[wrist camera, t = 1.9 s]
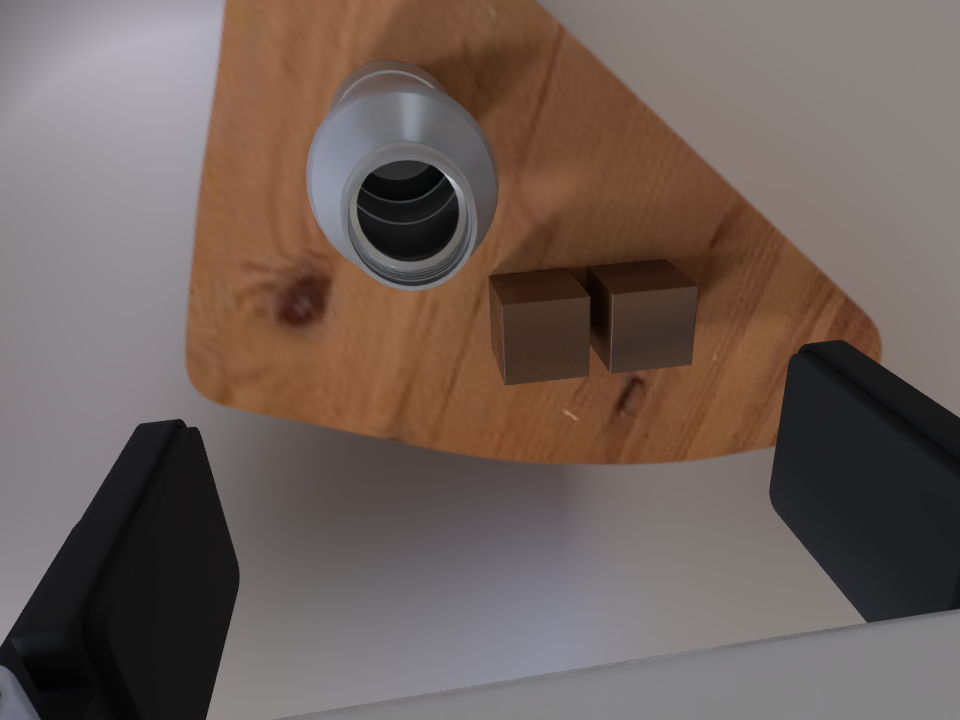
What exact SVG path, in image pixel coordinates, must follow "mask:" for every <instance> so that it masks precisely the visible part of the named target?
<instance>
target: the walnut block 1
mask: <svg viewBox="0 0 960 720" xmlns="http://www.w3.org/2000/svg"><path fill="white" fill-rule="evenodd" d="M489 297H490V318H491V338H492V350H493V353H494V356H495V359H496V362H497V364H498V367H499V370H500V373H501V376H502V378H503V381H504V384H505V385H513V384H522V383H532V382H541V381H550V380H559V379H568V378H577V377H586V376H589V349H590V300H591V297H590V295H589V294H588V293H587V292H586V290H585V289H584V288H583V287H582V285H581V284H580V283H579V281H578V280H577V279H576V278H575V276H574V275H573V274H572V273H571V271H570V270H569V269H557V270H547V271H536V272H526V273H515V274H504V275H494V276H489Z"/></svg>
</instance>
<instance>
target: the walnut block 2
mask: <svg viewBox="0 0 960 720" xmlns="http://www.w3.org/2000/svg"><path fill="white" fill-rule="evenodd" d="M698 289H699V286H698V285H697V284H696V283H695V282H693V281H692V280H691V279H690V278H688V277H687V276H686V275H684V274H683V273H682V272H681V271H679V270H678V269H677V268H676V267H674V266H673V265H672V264H671V263H669V262H668V261H667V260H665V259H664V260H654V261H643V262H633V263H622V264H611V265H601V266H590V267H589V268H588V294H589V295H590V297H591V300H590V344H591V346H592V347H593V349H594V350H595V352H596V353H597V355H598V356H599V358H600V359H601V361H602V362H603V364H604V365H605V367H606V368H607V370H608V371H609V373H611V374H612V373H621V372H630V371H639V370H648V369H657V368H666V367H675V366H684V365H691V363H692V352H693V342H694V331H695V320H696V310H697V299H698Z"/></svg>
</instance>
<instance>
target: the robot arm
mask: <svg viewBox="0 0 960 720" xmlns="http://www.w3.org/2000/svg"><path fill="white" fill-rule="evenodd" d="M769 492H770V499H771V503H772V505H773V508H774V509H775V511H776V512H777V514H778V515H779V516H780V517H781V519H782V520H783V521H784V522H785V523H786V524H787V526H788V527H789V528H790V529H791V531H792V532H793V533H794V534H795V536H796V537H797V538H798V539H799V540H800V542H801V543H802V544H803V545H804V546H805V548H806V549H807V550H808V551H809V552H810V554H811V555H812V556H813V557H814V559H815V560H816V561H817V562H818V563H819V565H820V566H821V567H822V568H823V569H824V571H825V572H826V573H827V574H828V575H829V576H830V578H831V579H832V580H833V582H834V583H835V584H836V585H837V587H838V588H839V589H840V590H841V591H842V592H843V594H844V595H845V596H846V597H847V599H848V600H849V601H850V602H851V603H852V605H853V606H854V607H855V608H856V609H857V611H858V612H859V613H860V614H861V616H862V617H863V618H864V619H865V620H866V622H867V623H865V624H858V625H852V626H846V627H839V628H832V629H826V630H820V631H813V632H807V633H800V634H794V635H788V636H781V637H774V638H768V639H761V640H755V641H749V642H743V643H736V644H731V645H724V646H717V647H711V648H705V649H698V650H692V651H686V652H680V653H674V654H667V655H661V656H655V657H648V658H643V659H636V660H630V661H624V662H617V663H611V664H606V665H599V666H593V667H586V668H580V669H574V670H568V671H562V672H555V673H549V674H543V675H537V676H531V677H525V678H519V679H513V680H507V681H501V682H495V683H489V684H483V685H477V686H471V687H465V688H459V689H453V690H447V691H441V692H435V693H429V694H423V695H417V696H411V697H405V698H399V699H393V700H387V701H381V702H375V703H369V704H363V705H357V706H350V707H345V708H339V709H333V710H327V711H321V712H315V713H309V714H303V715H297V716H291V717H286V718H280V719H274V720H960V418H959V417H958V416H956V415H954V414H953V413H951V412H950V411H948V410H947V409H946V408H944V407H942V406H941V405H940V404H938V403H936V402H935V401H933V400H932V399H931V398H929V397H928V396H926V395H925V394H923V393H921V392H920V391H918V390H917V389H915V388H914V387H913V386H911V385H910V384H908V383H906V382H905V381H904V380H902V379H901V378H899V377H898V376H896V375H895V374H893V373H892V372H890V371H889V370H887V369H886V368H884V367H883V366H881V365H880V364H878V363H877V362H875V361H874V360H872V359H871V358H869V357H868V356H866V355H865V354H863V353H862V352H860V351H859V350H857V349H856V348H854V347H853V346H851V345H850V344H848V343H847V342H845V341H842V340H835V341H826V342H818V343H810V344H805V345H803V346H802V347H801V348H800V350H799V351H798V354H794V355H793V356H792V357H791V359H790V361H789V364H788V371H787V377H786V384H785V390H784V397H783V403H782V410H781V416H780V423H779V430H778V436H777V443H776V450H775V456H774V462H773V469H772V476H771V482H770V491H769ZM239 579H240V578H239V566H238V561H237V558H236V555H235V551H234V547H233V544H232V541H231V537H230V534H229V530H228V527H227V523H226V520H225V517H224V513H223V509H222V506H221V502H220V500H219V496H218V492H217V489H216V485H215V482H214V478H213V475H212V471H211V468H210V465H209V461H208V457H207V454H206V451H205V447H204V444H203V440H202V437H201V434H200V431H199V430H198V428H196V427H188V428H187V426H186V424H185V423H184V421H182V420H181V419H175V420H167V421H159V422H150V423H143V424H139V425H138V426H137V427H136V429H135V431H134V432H133V434H132V436H131V437H130V439H129V441H128V442H127V444H126V446H125V447H124V449H123V451H122V452H121V454H120V456H119V457H118V459H117V461H116V462H115V464H114V465H113V467H112V469H111V471H110V472H109V474H108V475H107V477H106V479H105V480H104V482H103V484H102V485H101V487H100V488H99V490H98V492H97V493H96V495H95V497H94V498H93V500H92V502H91V503H90V505H89V507H88V508H87V510H86V512H85V513H84V515H83V517H82V518H81V520H80V521H79V522H78V523H77V524H76V525H75V527H74V528H73V529H72V531H71V532H70V534H69V536H68V537H67V539H66V541H65V542H64V544H63V546H62V547H61V549H60V550H59V552H58V554H57V555H56V557H55V559H54V560H53V562H52V563H51V565H50V567H49V568H48V570H47V572H46V573H45V575H44V577H43V578H42V580H41V582H40V583H39V585H38V586H37V588H36V590H35V591H34V593H33V595H32V596H31V598H30V599H29V601H28V603H27V605H26V606H25V608H24V609H23V611H22V613H21V614H20V616H19V617H18V619H17V621H16V622H15V624H14V626H13V627H12V629H11V631H10V632H9V634H8V635H7V637H6V639H5V640H4V642H3V644H2V645H1V647H0V720H206V717H207V713H208V709H209V705H210V701H211V697H212V693H213V689H214V685H215V681H216V676H217V673H218V669H219V665H220V661H221V657H222V653H223V648H224V644H225V641H226V637H227V633H228V629H229V625H230V621H231V617H232V613H233V609H234V605H235V601H236V597H237V592H238V587H239Z"/></svg>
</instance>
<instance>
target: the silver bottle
mask: <svg viewBox="0 0 960 720" xmlns="http://www.w3.org/2000/svg"><path fill="white" fill-rule="evenodd" d="M306 177H307V191H308V196H309V200H310V204H311V209H312V211H313V213H314V216H315V218H316V220H317V222H318V225H319V227H320V228H321V230H322V231H323V233H324V234H325V236H326V237H327V239H328V240H329V242H330V243H331V244H332V245H333V246H334V247H335V248H336V249H337V250H338V251H339V252H340V253H341V254H342V255H343V256H344V257H345V258H347V259H348V260H349V261H351V262H352V263H354V264H355V265H356V266H358V267H359V268H361V269H362V270H364V271H365V272H366V273H367V274H368V275H370V276H371V277H372V278H374V279H375V280H377V281H378V282H380V283H382V284H385V285H387V286H389V287H392V288H396V289H400V290H411V291H417V290H424V289H429V288H432V287H435V286H438V285H440V284H442V283H444V282H446V281H447V280H449V279H451V278H452V277H453V276H454V275H455V274H456V273H457V272H459V271H460V269H461V268H462V267H463V266H464V264H465V263H466V262H467V260H468V258H469V257H470V256H471V255H472V254H473V253H474V251H475V250H476V249H477V247H478V246H479V245H480V243H481V242H482V241H483V239H484V238H485V236H486V234H487V232H488V230H489V228H490V226H491V224H492V222H493V218H494V215H495V211H496V207H497V204H498V191H499V180H498V170H497V164H496V161H495V157H494V154H493V150H492V147H491V145H490V143H489V141H488V139H487V137H486V135H485V133H484V131H483V129H482V128H481V127H480V125H479V124H478V123H477V122H476V120H475V119H474V118H473V116H472V115H471V114H470V113H469V112H468V111H467V110H466V109H465V108H464V107H462V106H461V105H460V104H459V103H458V102H457V101H455V100H454V99H453V98H451V97H450V96H449V94H448V93H447V92H446V90H445V89H444V88H443V86H442V85H441V84H440V83H439V82H438V81H437V80H436V79H435V78H434V77H433V76H431V75H430V74H429V73H428V72H426V71H424V70H423V69H421V68H419V67H417V66H415V65H412V64H409V63H406V62H403V61H395V60H383V61H375V62H372V63H369V64H367V65H364V66H362V67H360V68H359V69H357V70H355V71H354V72H352V73H351V74H350V75H349V76H348V77H347V78H346V79H345V80H344V81H343V82H342V83H341V84H340V86H339V88H338V89H337V91H336V92H335V94H334V96H333V99H332V101H331V104H330V107H329V112H328V114H327V115H326V117H325V118H324V120H323V122H322V123H321V125H320V126H319V128H318V129H317V131H316V133H315V136H314V139H313V141H312V144H311V147H310V149H309V155H308V161H307V168H306Z"/></svg>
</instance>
